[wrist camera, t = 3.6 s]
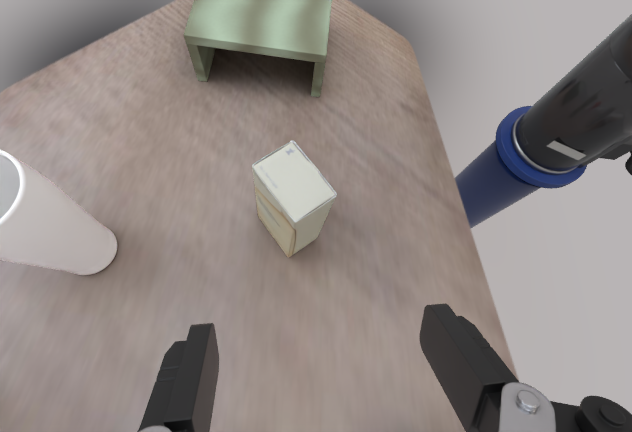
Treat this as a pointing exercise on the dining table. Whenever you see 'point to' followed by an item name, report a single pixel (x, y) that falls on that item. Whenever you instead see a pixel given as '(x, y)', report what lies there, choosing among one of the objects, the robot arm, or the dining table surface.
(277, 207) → the cosmetic box
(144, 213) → the dining table surface
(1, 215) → the white tumbler
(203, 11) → the shelf
